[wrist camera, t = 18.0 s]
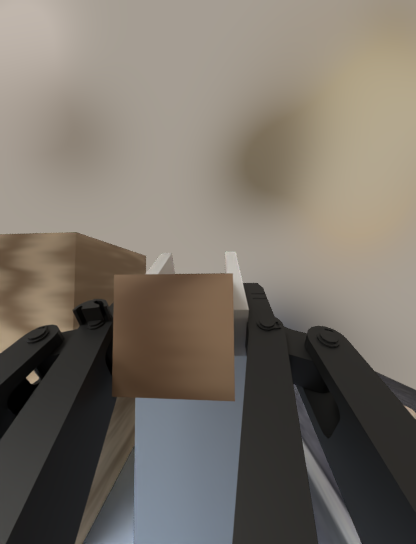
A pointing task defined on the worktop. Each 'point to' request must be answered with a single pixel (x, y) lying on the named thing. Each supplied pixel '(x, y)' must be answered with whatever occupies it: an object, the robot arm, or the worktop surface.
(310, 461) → the worktop surface
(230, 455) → the slate base
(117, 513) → the worktop surface
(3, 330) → the oak stand
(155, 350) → the walnut bar
